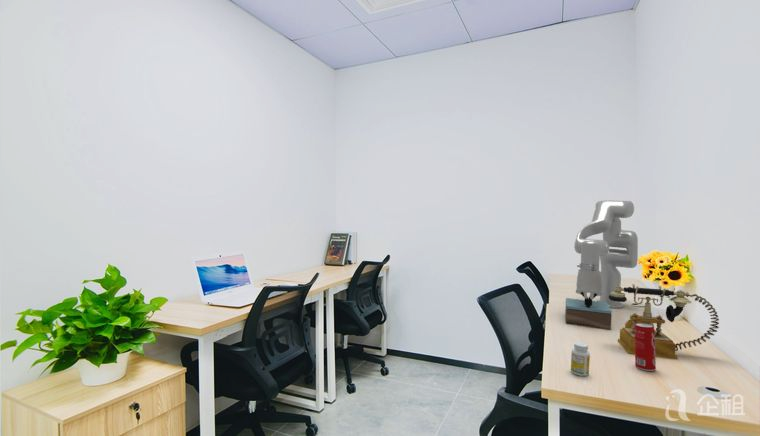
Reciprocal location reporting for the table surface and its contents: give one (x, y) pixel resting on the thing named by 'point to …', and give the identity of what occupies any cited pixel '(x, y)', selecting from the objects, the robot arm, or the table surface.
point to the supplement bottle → (580, 359)
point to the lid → (595, 307)
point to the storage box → (588, 318)
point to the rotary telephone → (658, 319)
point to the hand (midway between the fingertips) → (588, 306)
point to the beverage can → (645, 346)
